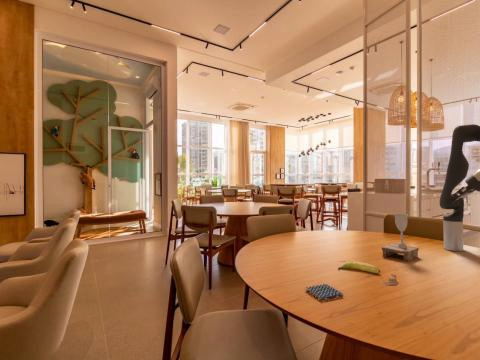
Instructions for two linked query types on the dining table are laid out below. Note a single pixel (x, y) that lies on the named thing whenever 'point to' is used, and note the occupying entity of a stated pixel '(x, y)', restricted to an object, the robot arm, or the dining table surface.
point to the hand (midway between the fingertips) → (451, 202)
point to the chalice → (401, 227)
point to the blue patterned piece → (324, 292)
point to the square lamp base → (401, 251)
